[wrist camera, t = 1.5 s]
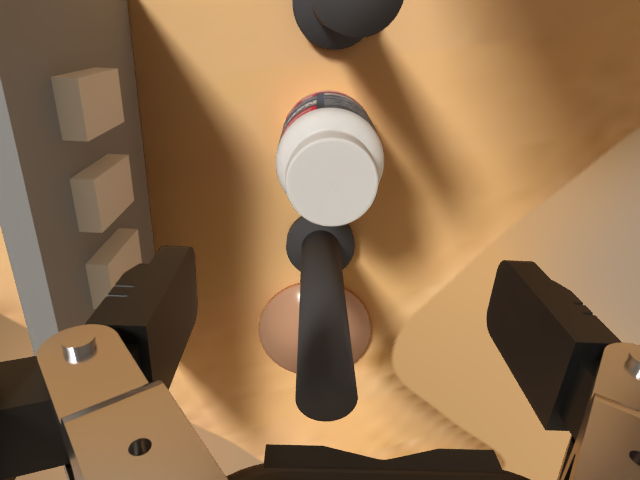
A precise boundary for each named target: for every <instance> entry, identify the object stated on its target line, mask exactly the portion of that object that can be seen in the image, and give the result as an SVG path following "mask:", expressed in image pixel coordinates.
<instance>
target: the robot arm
mask: <svg viewBox="0 0 640 480" xmlns="http://www.w3.org/2000/svg"><path fill="white" fill-rule="evenodd" d="M197 303H198V301H197V284H196V268H195V254H194V250H193V248H192V247H186V246H161V247H160V249H159V250H158V252H157V253H156V255H155V256H154V258H153V259H152V261H151V262H150V263H149V264H145V263H139V264H138V265H136V266H134V267H133V268H131V269H129V270H128V271H126V272H124V273H123V275H122V276H121V277H120V279H119V280H118V281H117V282H116V284H115V287H113V288H112V289H111V290H110V292H109V293H108V296H106V297H105V298H104V300H103V301H102V302H101V303H100V305H99V306H98V307H97V309H96V310H95V311H94V313H93V314H92V315H91V317H90V318H89V319H88V320H87V322H86V323H85V324H84V325H80V326H75V327H71V328H68V329H65V330H63V331H60V332H58V333H56V334H54V335H53V336H51V337H50V338H48V339H47V340H46V341H45V342H44V343H43V344H42V345H41V346H40V347H39V349H38V351H37V356H33V357H28V358H22V359H16V360H11V361H4V362H0V480H15V478H16V477H17V476H21V475H25V474H29V473H34V472H38V471H41V470H46V469H50V468H54V467H58V466H63V465H64V469H65V472H66V475H67V478H68V480H530V479H528V478H525V477H523V476H520V475H517V474H514V473H512V472H509V471H505V470H502V468H501V466H500V464H499V461H498V459H497V457H496V454H495V452H494V450H467V449H435V450H431V451H426V452H421V453H417V454H412V455H407V456H403V457H398V458H393V459H388V460H379V459H375V458H370V457H366V456H362V455H358V454H354V453H350V452H346V451H342V450H338V449H333V448H329V447H325V446H306V445H266V450H265V460H264V463H263V464H259V465H255V466H251V467H248V468H245V469H242V470H240V471H237V472H235V473H233V474H231V475H228V476H225V474H224V473H223V471H222V470H221V468H220V467H219V465H218V464H217V462H216V461H215V459H214V458H213V456H212V455H211V453H210V452H209V450H208V449H207V447H206V446H205V444H204V443H203V441H202V440H201V438H200V437H199V435H198V434H197V433H196V431H195V429H194V428H193V427H192V425H191V423H190V422H189V420H188V419H187V417H186V416H185V414H184V413H183V411H182V410H181V408H180V407H179V405H178V404H177V402H176V401H175V399H174V398H173V396H172V395H171V393H170V392H169V387H170V385H171V382H172V380H173V377H174V375H175V372H176V370H177V367H178V364H179V362H180V359H181V357H182V354H183V352H184V349H185V347H186V344H187V342H188V339H189V336H190V334H191V331H192V329H193V326H194V324H195V320H196V315H197ZM487 328H488V331H489V334H490V336H491V338H492V339H493V341H494V343H495V345H496V346H497V348H498V350H499V351H500V353H501V355H502V357H503V358H504V360H505V362H506V363H507V365H508V367H509V368H510V370H511V372H512V374H513V375H514V377H515V379H516V380H517V382H518V384H519V386H520V387H521V389H522V391H523V392H524V394H525V396H526V398H527V399H528V401H529V403H530V404H531V406H532V408H533V410H534V411H535V413H536V415H537V416H538V418H539V420H540V421H541V423H542V425H543V427H544V428H545V430H558V431H560V430H561V431H570V433H571V435H572V436H571V438H570V441H569V444H568V446H567V449H566V452H565V456H564V459H563V462H562V466H561V469H560V472H559V476H558V479H557V480H640V345H636V344H630V343H622V342H621V341H620V340H619V339H618V338H617V337H616V336H615V335H614V334H613V333H612V332H611V331H610V330H609V329H608V328H607V327H606V326H605V325H604V324H603V323H602V322H601V321H600V320H599V319H598V318H597V317H596V316H595V315H593V314H592V312H591V311H590V310H589V309H588V308H587V307H586V306H585V305H583V303H582V302H581V301H580V300H579V299H578V298H577V297H576V296H575V295H574V294H573V293H572V292H571V291H570V290H568V289H567V288H565V287H563V286H562V285H560V284H558V283H556V282H554V281H552V280H551V279H550V278H549V277H548V276H547V275H546V274H545V273H544V272H543V271H542V270H541V269H540V268H539V267H538V266H537V265H536V264H535V263H534V262H532V261H506V260H504V261H502V262H501V263H500V265H499V267H498V269H497V273H496V278H495V282H494V285H493V290H492V294H491V298H490V302H489V306H488V310H487Z"/></svg>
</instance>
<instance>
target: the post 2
mask: <svg viewBox="0 0 640 480" xmlns="http://www.w3.org/2000/svg"><path fill="white" fill-rule="evenodd" d="M354 249H355V244H354V237H353V233H352V230H351V228H350V226H349V225H348V224H345V225H341V226H322V225H318V224H315V223H312V222H310V221H308V220H307V219H305V218H304V217H302V216H301V217H300V218H298V219H297V220H296V221H295V222H294V223H293V225H292V226H291V228H290V230H289V232H288V236H287V244H286V250H287V255H288V257H289V259H290V261H291V263H292V264H293V265H294V266H295V267H296V268H297V269H298V270H299V271H301V279H300V303H299V327H298V351H297V375H296V404H297V407H298V408H299V410H300V411H301V412H302V413H303V414H304V415H306V416H307V417H309V418H311V419H314V420H317V421H334V420H338V419H341V418H343V417H345V416H347V415H348V414H349V413H350V412H351V411H352V410H353V409H354V408H355V406H356V404H357V400H358V395H357V387H356V379H355V371H354V363H353V355H352V347H351V338H350V330H349V322H348V314H347V306H346V298H345V290H344V281H343V273H342V270H343V269H344V268H345V267H346V266H347V265H348V264H349V262H350V261H351V259H352V257H353V254H354Z"/></svg>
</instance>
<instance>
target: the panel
mask: <svg viewBox="0 0 640 480" xmlns="http://www.w3.org/2000/svg"><path fill="white" fill-rule="evenodd" d="M0 226H1V229H2V233H3V237H4V241H5V245H6V248H7V252H8V256H9V260H10V264H11V267H12V271H13V275H14V279H15V283H16V287H17V290H18V294H19V298H20V302H21V306H22V309H23V313H24V317H25V321H26V325H27V328H28V332H29V336H30V340H31V344H32V347H33V351H34V355H35V356H37V351H38V349H39V347H40V346H41V345H42V344H43V343H44V342H45V341H46V340H47V339H48V338H50V337H51V336H53V335H54V334H56V333H58V332H60V331H63V330H65V329H68V328H71V327H75V326H80V325H84V324H85V323H86V322H87V320H88V319H89V318H90V317H91V315H92V314H93V313H94V311H95V310H96V309H97V307H98V306H99V305H100V303H101V302H102V301H103V300H104V298H105V297H106V296H108V293H109V292H110V290H111V289H112V288H113V287H115V284H116V282H117V281H118V280H119V279H120V277H121V276H122V275H123V273H124V272H126V271H128V270H129V269H131V268H133V267H134V266H136V265H138V264H139V263H145V264H149V263H150V262H151V261H152V259H153V258H154V256H155V249H154V240H153V231H152V222H151V213H150V204H149V195H148V186H147V177H146V167H145V158H144V149H143V140H142V131H141V122H140V113H139V104H138V95H137V85H136V76H135V67H134V58H133V49H132V40H131V31H130V22H129V13H128V4H127V0H0ZM63 466H64V465H63ZM64 470H65V469H64ZM65 473H66V472H65ZM66 477H67V475H66Z"/></svg>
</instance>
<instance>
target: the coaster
mask: <svg viewBox="0 0 640 480" xmlns="http://www.w3.org/2000/svg"><path fill="white" fill-rule="evenodd" d="M344 290H345V298H346V306H347V314H348V322H349V330H350V338H351V347H352V355H353V363H354V362H355V361H356V360H357V359H358V358H359V357H360V356H361V355H362V354H363V352H364V351H365V349H366V347H367V345H368V343H369V340H370V335H371V325H370V319H369V315H368V312H367V310H366V308H365V306H364V305H363V303H362V302H361V301H360V300H359V299H358V297H357V296H355V295H354V294H353V293H352V292H350V291H349V290H347V289H345V288H344ZM299 303H300V283H298V284H295V285H292V286H289V287H287V288H285V289H283V290H282V291H280V292H279V293H277V294H276V295H275V296H274V297H273V298H272V299H271V300H270V301H269V302H268V304H267V305H266V307H265V308H264V310H263V313H262V315H261V319H260V324H259V337H260V341H261V344H262V346H263V348H264V350H265V352H266V353H267V354H268V356H269V357H270V358H271V359H272V360H273V361H274V362H275V363H277V364H278V365H279V366H281V367H283V368H284V369H286V370H289V371H291V372H294V373H297V351H298V327H299Z"/></svg>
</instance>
